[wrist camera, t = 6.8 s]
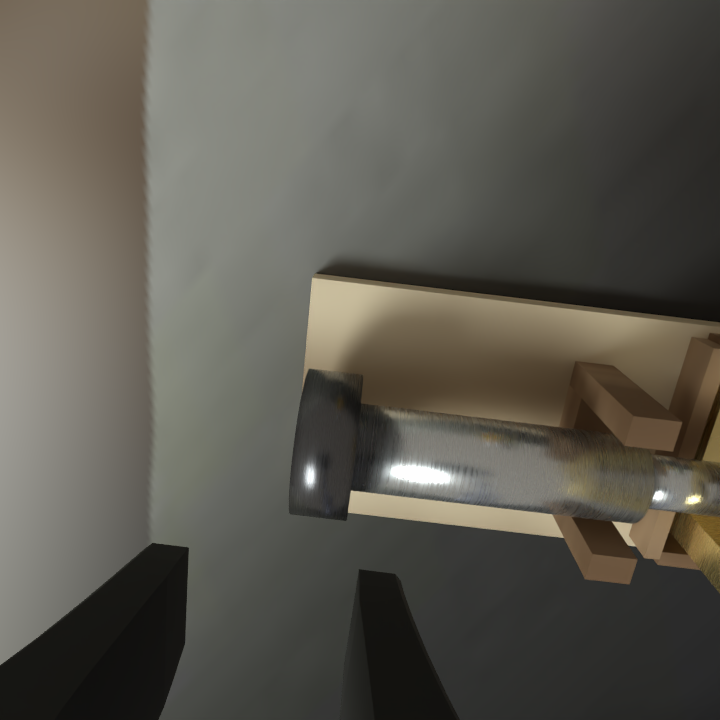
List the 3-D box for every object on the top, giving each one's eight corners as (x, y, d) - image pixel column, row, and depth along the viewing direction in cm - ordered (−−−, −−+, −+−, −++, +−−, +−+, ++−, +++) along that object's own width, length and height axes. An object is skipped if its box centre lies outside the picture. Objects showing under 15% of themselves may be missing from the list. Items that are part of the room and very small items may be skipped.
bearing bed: (788, 551, 20) (911, 665, 16) (295, 493, 20) (269, 591, 16) (877, 341, 18) (1058, 402, 13) (315, 273, 18) (292, 310, 13)
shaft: (664, 510, 18) (739, 598, 14) (304, 467, 18) (284, 545, 14) (702, 396, 17) (796, 460, 13) (314, 349, 17) (297, 401, 13)
